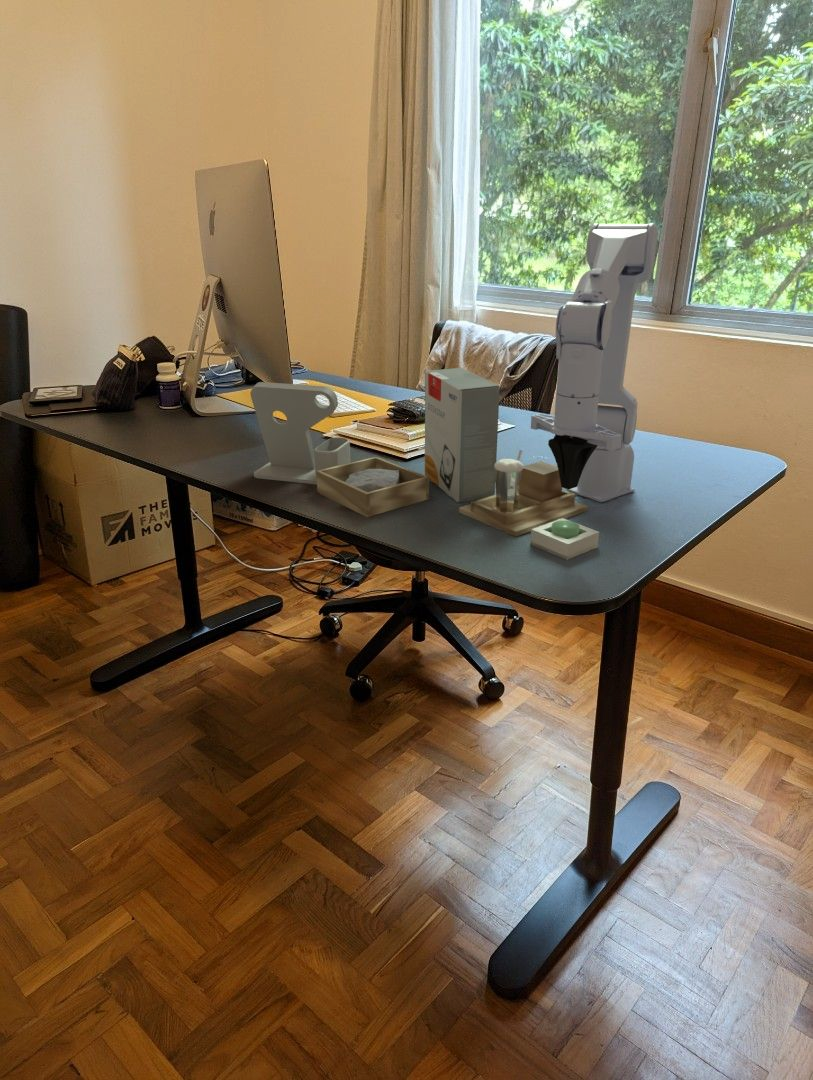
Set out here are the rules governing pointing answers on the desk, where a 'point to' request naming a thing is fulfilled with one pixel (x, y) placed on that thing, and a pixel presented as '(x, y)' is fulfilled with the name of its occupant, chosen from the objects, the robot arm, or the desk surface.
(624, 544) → the desk surface
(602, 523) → the desk surface
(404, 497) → the wooden tray
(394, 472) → the stone block
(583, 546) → the cream square tray
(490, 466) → the hard drive box
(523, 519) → the pallet
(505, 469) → the milkshake
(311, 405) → the phone holder
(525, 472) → the walnut block
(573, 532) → the button
